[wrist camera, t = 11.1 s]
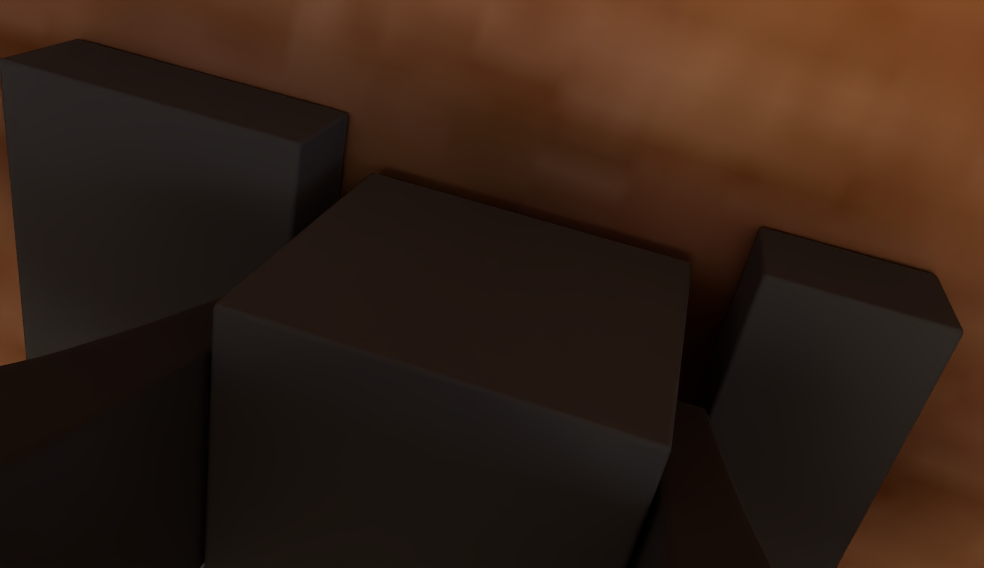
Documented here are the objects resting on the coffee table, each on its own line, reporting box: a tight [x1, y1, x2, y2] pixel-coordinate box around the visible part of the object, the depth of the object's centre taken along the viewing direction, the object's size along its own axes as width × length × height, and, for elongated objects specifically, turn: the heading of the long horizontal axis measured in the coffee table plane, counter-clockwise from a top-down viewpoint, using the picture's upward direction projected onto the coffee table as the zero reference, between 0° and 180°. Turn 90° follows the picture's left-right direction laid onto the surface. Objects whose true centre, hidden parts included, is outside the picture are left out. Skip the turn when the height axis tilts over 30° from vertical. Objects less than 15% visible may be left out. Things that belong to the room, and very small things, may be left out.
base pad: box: [0, 39, 963, 568], centre depth 13 cm, size 12×12×2 cm
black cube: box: [204, 173, 692, 568], centre depth 10 cm, size 4×4×4 cm
